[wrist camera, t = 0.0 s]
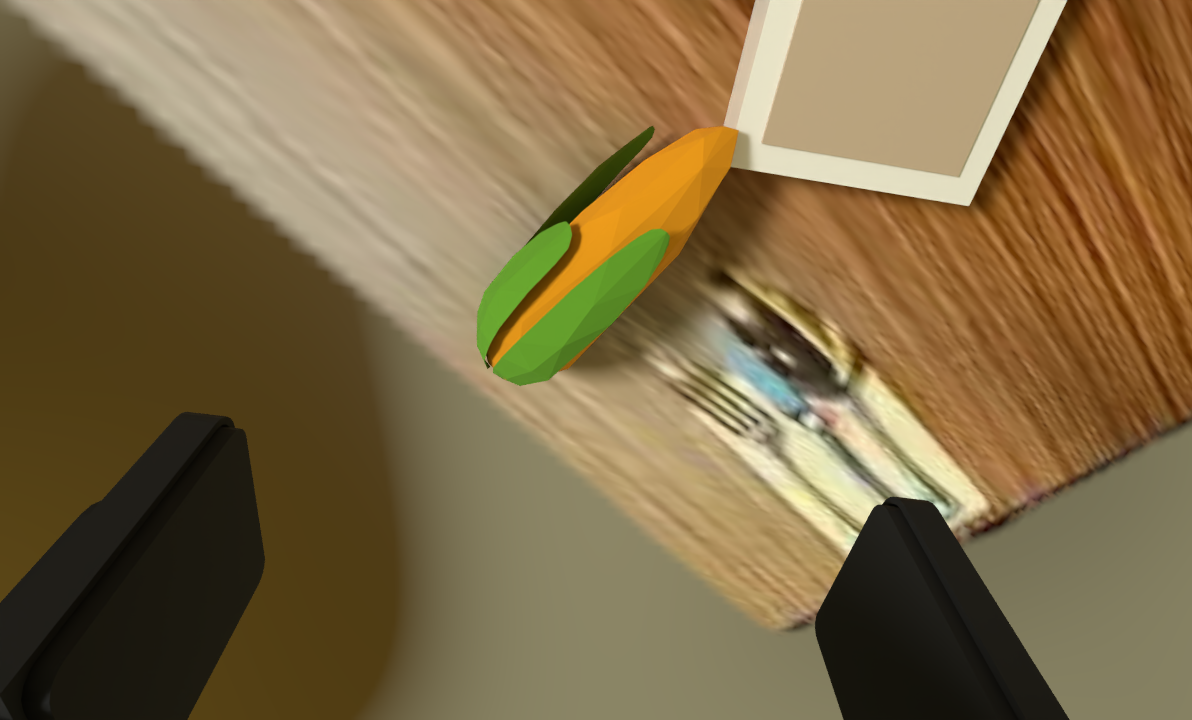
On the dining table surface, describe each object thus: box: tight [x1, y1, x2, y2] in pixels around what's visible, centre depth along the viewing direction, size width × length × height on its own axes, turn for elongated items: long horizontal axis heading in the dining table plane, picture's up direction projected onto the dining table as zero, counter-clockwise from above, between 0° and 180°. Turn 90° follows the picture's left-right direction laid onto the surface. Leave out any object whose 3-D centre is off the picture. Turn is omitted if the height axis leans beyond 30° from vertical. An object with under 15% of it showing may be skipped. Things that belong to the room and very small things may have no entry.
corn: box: [477, 126, 739, 386], centre depth 37 cm, size 7×8×20 cm
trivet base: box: [724, 0, 1067, 206], centre depth 33 cm, size 14×14×3 cm
